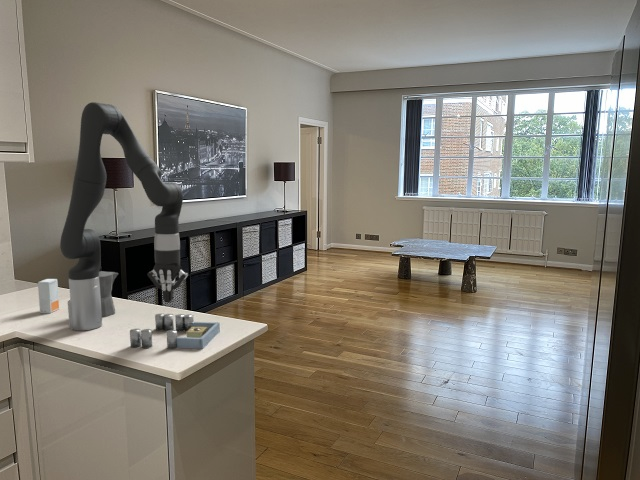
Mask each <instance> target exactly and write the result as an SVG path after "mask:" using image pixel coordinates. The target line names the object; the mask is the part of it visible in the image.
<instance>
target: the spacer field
mask: <svg viewBox="0 0 640 480" xmlns="http://www.w3.org/2000/svg"><path fill="white" fill-rule="evenodd" d="M154 318H155V331H156V332H157V331H159V332H160V331H165V332H166V348H167V349H168V350H175V349H177V337H178V332H184V331H185V332H186V333H187V331H188V330H189V329H190V328H191V322H195V321H194V319H195V318H194V314H191V313H190V314H183V313H178V314H175V316H174V313H156V314H154ZM174 318H175V319H174ZM174 320H175V322H174ZM174 323H175V325H174ZM174 326H175V328H174ZM152 333H153V331H152V329H151V328H144V329H140V328H132V329H130V330H129V340H130V348H132V349H136V348H140V347H141V348H142V349H150V348H152V347H153V334H152Z"/></svg>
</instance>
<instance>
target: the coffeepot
mask: <svg viewBox="0 0 640 480" xmlns="http://www.w3.org/2000/svg"><path fill="white" fill-rule="evenodd" d="M102 267H103V266H101V267H100V270H99V282H100V297H101V312H102V318H106V317H111V316H113V315H115V314H116V308H115V304H114V300H113V296H112V291H113V284H114V281H115V279H116V278H117V277H118V275H119V273H118V272H115V271H104V270H103V271H102Z"/></svg>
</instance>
